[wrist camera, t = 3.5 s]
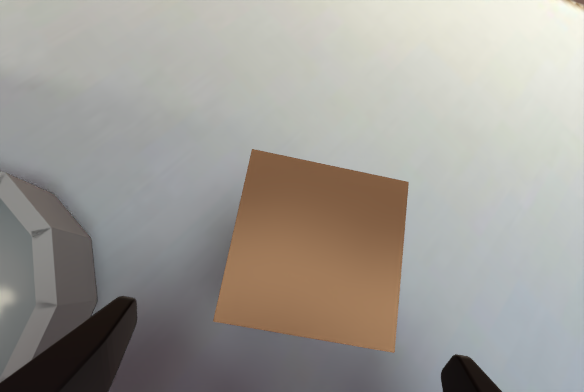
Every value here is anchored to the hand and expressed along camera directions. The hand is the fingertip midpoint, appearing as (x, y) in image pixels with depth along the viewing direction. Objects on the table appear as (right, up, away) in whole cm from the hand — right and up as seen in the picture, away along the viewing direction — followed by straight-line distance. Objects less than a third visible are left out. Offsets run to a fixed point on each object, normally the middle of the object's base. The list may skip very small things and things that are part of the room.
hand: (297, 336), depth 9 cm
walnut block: (-1, 0, +10) cm, 10 cm away
